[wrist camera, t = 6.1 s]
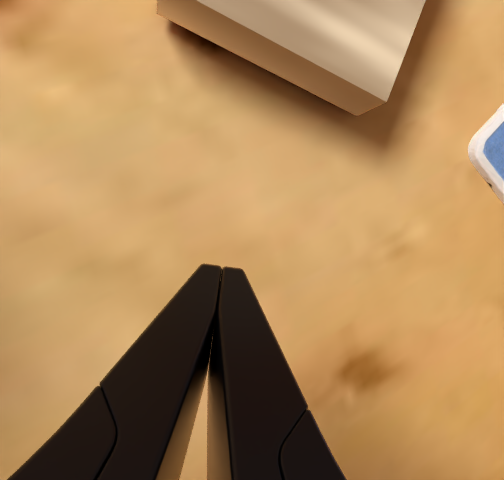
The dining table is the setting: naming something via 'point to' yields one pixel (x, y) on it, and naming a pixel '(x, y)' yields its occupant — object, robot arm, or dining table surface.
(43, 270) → the dining table surface
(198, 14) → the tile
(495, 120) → the tablet computer
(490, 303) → the dining table surface
